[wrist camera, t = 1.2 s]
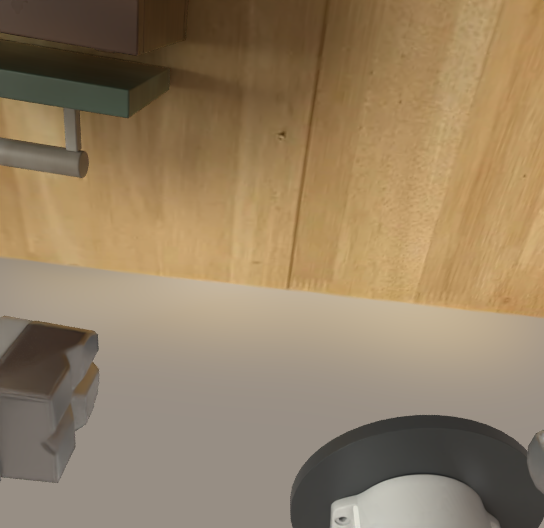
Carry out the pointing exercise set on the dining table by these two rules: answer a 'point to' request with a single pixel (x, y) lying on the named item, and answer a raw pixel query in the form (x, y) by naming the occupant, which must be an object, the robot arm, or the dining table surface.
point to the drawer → (71, 98)
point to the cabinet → (98, 22)
